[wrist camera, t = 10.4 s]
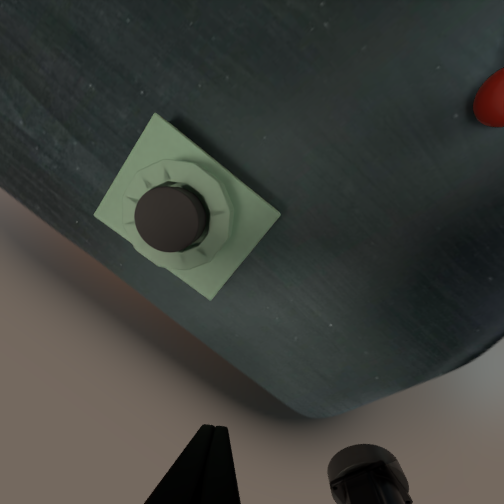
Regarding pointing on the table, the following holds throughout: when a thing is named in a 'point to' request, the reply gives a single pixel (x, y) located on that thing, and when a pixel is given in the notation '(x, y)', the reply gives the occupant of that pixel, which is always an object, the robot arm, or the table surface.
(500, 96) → the switch lever
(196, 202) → the push button
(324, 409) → the table surface
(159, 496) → the robot arm
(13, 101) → the table surface
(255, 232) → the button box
